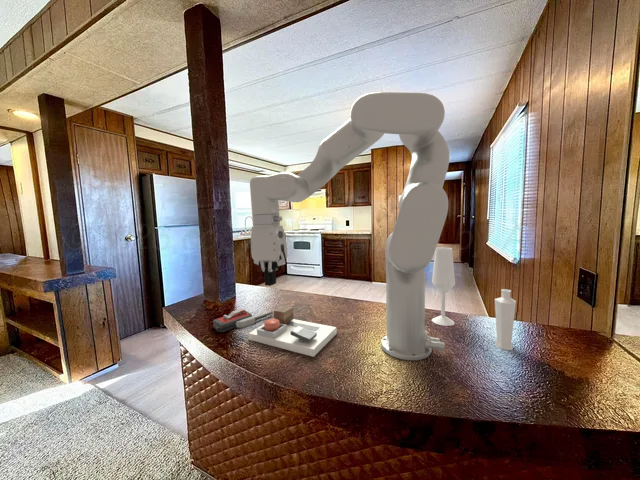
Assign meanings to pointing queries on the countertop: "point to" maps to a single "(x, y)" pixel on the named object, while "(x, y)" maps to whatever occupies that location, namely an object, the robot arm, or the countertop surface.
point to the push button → (271, 325)
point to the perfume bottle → (504, 319)
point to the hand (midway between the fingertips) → (270, 284)
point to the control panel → (293, 343)
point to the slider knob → (284, 314)
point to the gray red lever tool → (236, 320)
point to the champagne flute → (443, 280)
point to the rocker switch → (303, 333)
